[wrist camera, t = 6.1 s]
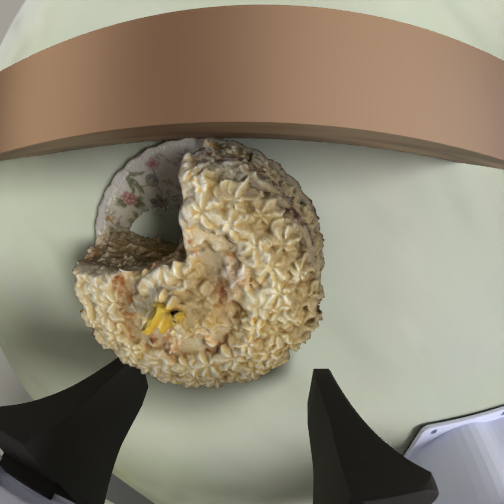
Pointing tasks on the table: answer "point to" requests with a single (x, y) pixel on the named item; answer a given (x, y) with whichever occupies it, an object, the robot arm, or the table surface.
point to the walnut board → (258, 85)
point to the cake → (204, 265)
